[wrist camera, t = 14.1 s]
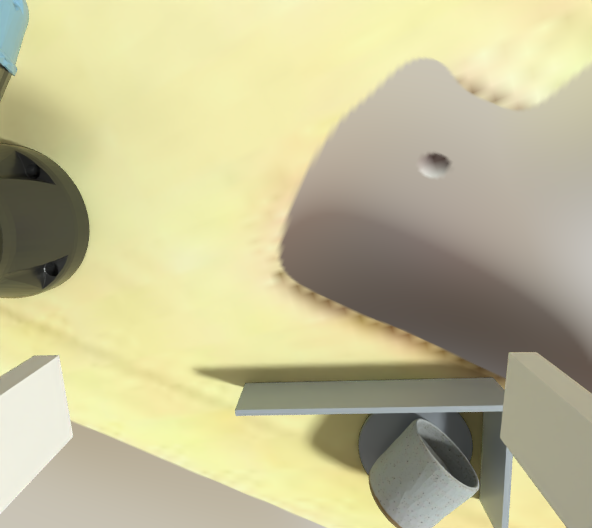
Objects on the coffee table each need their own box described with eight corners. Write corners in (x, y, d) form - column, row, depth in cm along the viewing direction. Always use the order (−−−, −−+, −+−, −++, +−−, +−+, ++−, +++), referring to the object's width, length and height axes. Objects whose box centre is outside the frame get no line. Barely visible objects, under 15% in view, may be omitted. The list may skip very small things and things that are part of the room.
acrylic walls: (256, 499, 43) (248, 539, 38) (245, 383, 40) (235, 410, 35) (486, 499, 41) (509, 541, 36) (492, 377, 38) (518, 405, 34)
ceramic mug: (358, 458, 40) (368, 520, 33) (406, 404, 39) (429, 457, 31) (434, 508, 41) (461, 580, 34) (484, 458, 40) (524, 522, 32)
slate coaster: (359, 492, 42) (360, 496, 42) (357, 396, 40) (357, 399, 39) (468, 492, 41) (470, 496, 41) (472, 393, 39) (474, 396, 38)
